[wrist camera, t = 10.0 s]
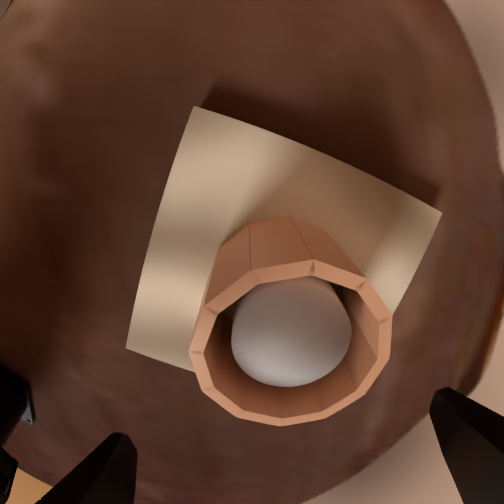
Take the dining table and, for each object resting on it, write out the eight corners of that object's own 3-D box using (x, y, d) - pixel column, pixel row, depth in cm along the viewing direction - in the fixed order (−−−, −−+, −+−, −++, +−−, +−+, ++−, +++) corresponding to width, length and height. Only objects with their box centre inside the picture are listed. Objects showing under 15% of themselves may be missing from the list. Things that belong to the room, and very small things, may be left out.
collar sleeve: (349, 332, 17) (384, 404, 12) (224, 353, 18) (218, 432, 12) (341, 208, 15) (393, 245, 9) (195, 232, 15) (167, 282, 10)
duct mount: (330, 390, 21) (351, 461, 15) (132, 334, 19) (97, 404, 13) (429, 207, 17) (499, 239, 11) (198, 109, 15) (168, 86, 9)
